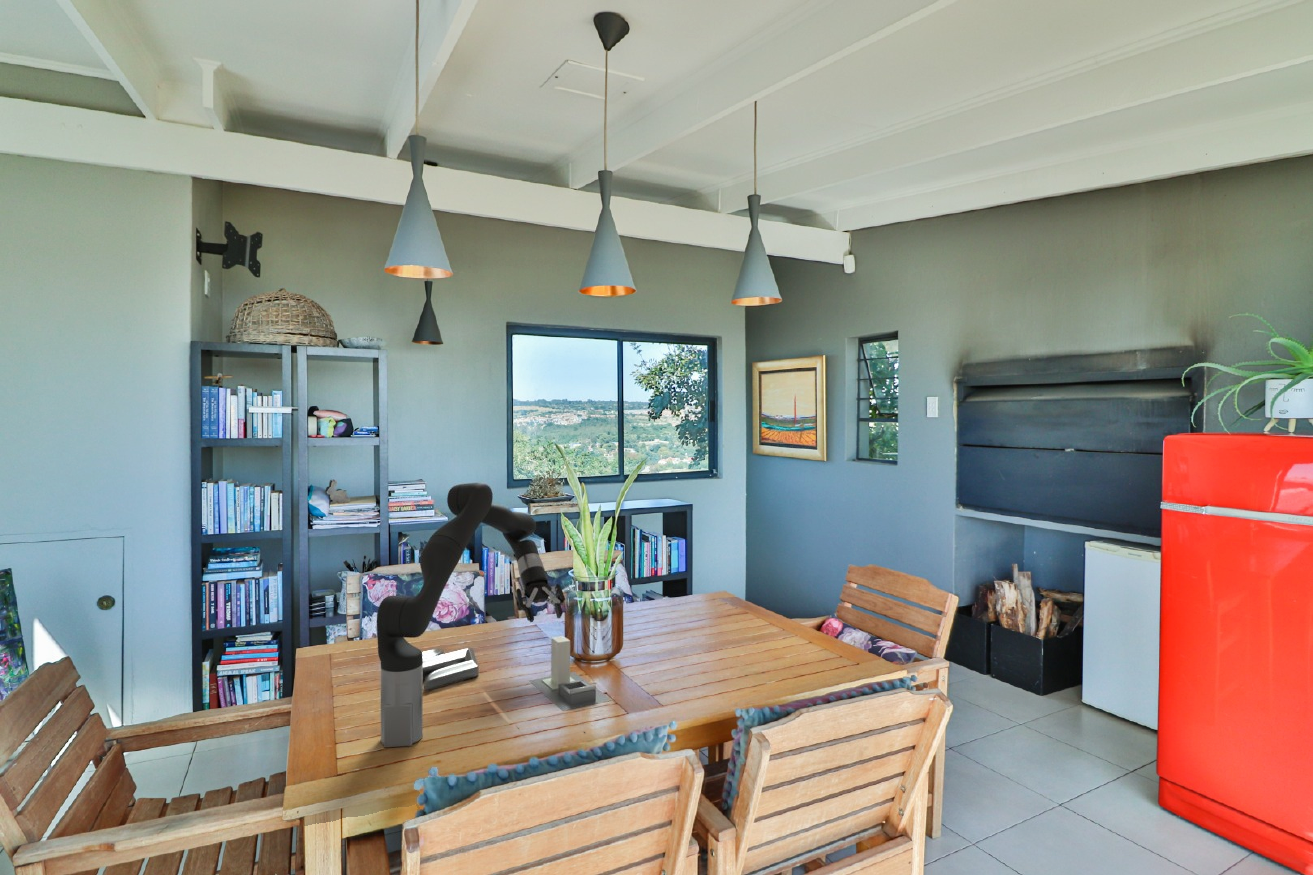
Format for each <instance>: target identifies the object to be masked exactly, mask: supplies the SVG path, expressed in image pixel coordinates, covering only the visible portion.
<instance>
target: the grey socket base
mask: <svg viewBox="0 0 1313 875" xmlns="http://www.w3.org/2000/svg"><path fill="white" fill-rule="evenodd" d="M528 682H529V683H531V684H532V685H533V686H534V687H536V689H537V690H538V691H540V692H541V693H542V694H543V695H544V696H545V697H546V698H548V700H550V701H551V702H552V703H553V704H554V705H556V707H557V708H559V710H561V711H562V712H566V711H569V710H570V711H571V710H574V709H578V708H583V707H584V708H585V707H588V706H593V705H597V704H601V703H607V702H611V701H613V699H612V698H610V697H609V696H607V695H606V694H605V693H604V692H602V691H600V690H599V689H598V688H597V685H596V684H592V683H590V682H589V681H587V679H585V678H583V676H581V675H580V674H578V673H577V672H575V671H572V672H570V682H567V683H562V684H558V685H556V684H555V683H554V682H553V681H551V675H550V676H546V677H542V678H541V677H540V678H535V679H530V680H529V681H528Z"/></svg>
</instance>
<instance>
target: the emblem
mask: <svg viewBox="0 0 1313 875" xmlns="http://www.w3.org/2000/svg"><path fill="white" fill-rule="evenodd" d="M421 652H422V655H423V690H426V691H432V690H435V689H439V688H441V687H445V686H449V685H452V684H454V683H458V682H462V681H465V680H469V679H473V678H475V677H479V670H480V669H479V664H478V661H477V658H476V655H475V651H474V648H473V647H466V648H463V649H458V650H454V651H448V652H446V653H444V649H442V648H432V649H428V650H424V651H421Z"/></svg>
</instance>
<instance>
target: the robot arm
mask: <svg viewBox="0 0 1313 875" xmlns="http://www.w3.org/2000/svg"><path fill="white" fill-rule="evenodd" d="M493 499H494V498H493V491H492V488H491V486H489V485H488V484H487V483H485V482H470V483H469V482H468V483H461V484H456V485H453V486H452V487H450V489H449V491H448V493H447V498H446V502H447V506H448V509H449V511H450V513H452V514H453V515H454V516H455V517H454V518H452V519H451V520H450V521H448V522H446V523H445V524H444V525H442V526H440V528H438V529H437V530H436V531H434V533H433V534H432V535H431V536H430V537H429V539H428V541H427V542H426V544H425V546H424V548H423V549H422V551H421V553H420V556H419V566H420V570H421V574H422V578H423V585H422V586H421V588H420V591H419V592H418V593H417V595H414V596H408V595H407V596H406V595H388V596H386V597H384V598H383V599H382V600H381V601H380V603H379V605H378V608H377V614H376V634H377V635H376V636H377V637H376V638H377V654H378V658H379V661H380V742H381V744H383V748H393V747H394V748H396V747H412V746H413V744H414V743H417V742H418V741H420V740H421V739H422V738H423V734H424V733H423V731H424V730H423V728H424V727H423V726H424V724H423V723H424V722H423V721H424V719H423V717H424V716H423V710H424V709H423V702H424V700H423V696H424V695H423V693H424V692H423V690H424V681H423V655H422V652H423V651H422V650H421V649H419V648H418V647H416V646H414V645H413V644H411V643H409V642H408V641H407V640H406V638H409V639H410V638H411V639H412V638H413V639H414V638H419V637H422V635H423V634H424V633H425V632H426V630H427V629H428V627H429V625H430V622H431V620H432V618H433V616H434V613H435V611H436V609H437V605H439V604H438V603H439V601H440V598H441V596H442V594H443V592H444V589H445V587H446V586H447V583H448V581H449V580H450V577H451V576H452V574H453V572H454V570H455V569H456V567H457V565H458V564H459V562H460V560H461V558H462V556H463V554H464V551H465V549H466V548H467V546H468V544H469V542H470V541H471V538H472V537H473V535H474V533H475V532H476V530H477V529H478V527H480V524H481V523H482V524H484V525H487V526H489V527H491V528H493V529H495V530H497V531H498V532H500V533H502V535H503V536H502V537H503V538H504V539H505V541H506V542H507V543H508V544H509V546H510V547H511V549H512V552H513V553H514V557H515V561H516V563H517V569H518V575H519V577H520V580H521V584H522V587H523V589H521V588H517V589H516V590H515V592H514V598H515V603H516V608H517V610H518V611H524V612H525V613H524V614H525V615H526V619H527V621H529V623H534V620H535V615H534V612H533V610H532V607H531V605H532V603H535V604H538V603H545V602H546V603H548V604H549V605H551V606H553V607H554V611H555V615H556V618H557V619H561V617H562V616H563V613H564V612H563V608H562V605H563V604H564V602H565V601H566V597H565V595H564V591H563V590H562V587H561V585H560V583H556V584H555V585H553V586H551V585H550V583H549V579H548V576H547V573H546V569H545V567H544V563H543V561H542V558H541V557H540V554H539V551H538V548H537V544H536V542H535V541H533V540H531V539H526V538H528V537H529V536H532V535H533V534H534V533H535V531H536V529H537V523H536V521H535V519H534V518H533V516H532V515H531V514H529V513H526V512H522V511H513V510H510V509H509V508H507V507H505V506H504V505H501V504H497V503H493ZM524 596H525V597H526V598H527V599H528V600H527V602H526V603H524V600H523V597H524Z"/></svg>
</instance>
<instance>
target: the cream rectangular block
mask: <svg viewBox="0 0 1313 875" xmlns="http://www.w3.org/2000/svg"><path fill="white" fill-rule="evenodd" d="M550 642H551V644H550V645H551V646H550V648H551V649H550V650H551V651H550V652H551V654H550V655H551V657H550V658H551V659H550V663H551V664H550V676H551V681H553V682H554V683H555V684H556V685H558V684H562V683H567V682H570V673H571V640H570V639H569V638H567V637H565V636H564V635H561V636H560V635H559V636H555V637H554V636H553V637H551V639H550Z"/></svg>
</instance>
